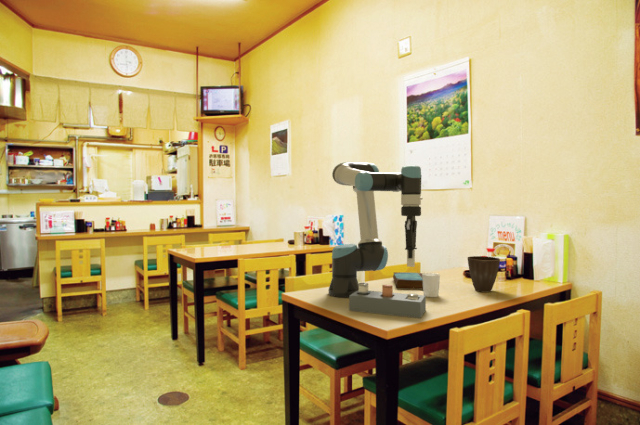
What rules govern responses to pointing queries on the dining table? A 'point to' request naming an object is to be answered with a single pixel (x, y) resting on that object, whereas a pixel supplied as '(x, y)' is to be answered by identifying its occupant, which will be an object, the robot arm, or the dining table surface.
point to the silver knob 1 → (363, 288)
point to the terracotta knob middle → (387, 291)
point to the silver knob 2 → (412, 296)
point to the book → (408, 280)
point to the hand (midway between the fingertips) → (410, 266)
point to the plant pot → (483, 272)
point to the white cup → (431, 284)
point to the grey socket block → (388, 304)
